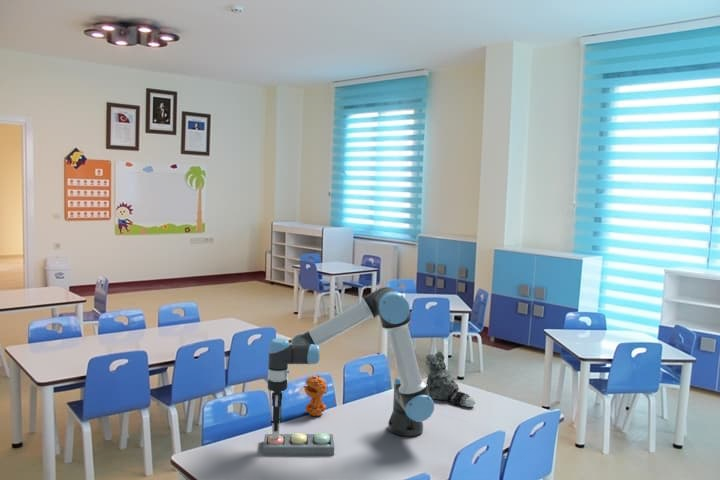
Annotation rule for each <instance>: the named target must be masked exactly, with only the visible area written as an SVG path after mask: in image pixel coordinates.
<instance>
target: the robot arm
mask: <svg viewBox="0 0 720 480" xmlns="http://www.w3.org/2000/svg"><path fill="white" fill-rule="evenodd" d="M410 311H411V306H410V302H409V301H408V299H407V297H406V296H405V295H404V294H402V293H401V292H398V291H397V290H396V289H394V288H393V287H390V286H384V287H381V288H378V289H376V290H374V291H372V292H371V293H369V294H368V295H365V296H364V297H362V298H361V301H360V302H358V303H356V304H354V305H352V306H351V307H349V308H347V309H345V310H344V311H342V312H340V313H339V314H337V315H335V316H333V317H331V318H330V319H327V320H326V321H324V322H322V323H321V324H319V325H317V326H315V327H314V328H312V329H310V330H308V331H306V332H304V333H298V334H295V335H294V336H293V338H292V340H291V344H290V341H289V340H288V339H287V338H282V337H278V338H273V339H272V340H270V341H269V347H268V367H267V390H269V391H270V392H271V400H272V403H271V406H272V420H270V424H271V428H272V429H271V434H272V439H279V434H280V422H281V421H282V418H281V414H280V413H281V412H280V411H281V406H282V400H283V392H284V391H286V390H287V389H288V374H289V373H290V370H288V369H289V365H317V364H318V363H319V362H320V355H321V354H320V352H321V351H320V346H321V345H324V344H325V343H327V342H329V341H331V340H333V339H334V338H336V337H338V336H339V335H341V334H343V333H345V332H346V331H348V330H350V329H352V328H354V327H355V326H358V325H359V324H360V323H363V322H364V321H366V320H368V319H375V318H376V317H379V320H380V323H381V327H382V329H384V330H385V331H387V335H388V339H389V344H390V346H391V351H392V355H393V359H394V363H395V366H396V370H397V375H398V376H397V377H395V379H394V382H393V383H394V384H393V399H392V400H393V403H392V412H391V415H390V417H389V420H388V423H387V424H388V425H387V429H388V430H389V431H390V432H391V433H393V434H395V435H399V436H403V437H413V436H418V435H420V434H422V433H423V432H424V423H423V422H424V421H426V420H428V419H429V418H430V417H432V415H433V413H434V411H435V403H434V400H433V398H432V397H430V396H429V392H428V388H427V386H428V385H427V384H426V382H427V381H425V380H423V379H422V377H421V372H420V369H419V365H418V360H417V355H416V353H415V348H414V344H413V340H412V337H411V336H412V335H411V332H410V328H409V324H410V323H411V317H410V316H411V315H410Z"/></svg>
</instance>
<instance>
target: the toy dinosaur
mask: <svg viewBox="0 0 720 480" xmlns="http://www.w3.org/2000/svg"><path fill="white" fill-rule="evenodd" d="M305 384H306V385H304V386H303V388H304V392H305V394H306V395H307V396H308V397H309V398H311V399H310V401H309V403H307V404H305V413H308V415H310V416H312V417H318V416H321V415H322V414H323V413H325V411H326V410H327V404H324V402H323V401H322V398H323V397H324V395H326V394H327V393H328V386H329V385H328V383H327V381H326V379H325V378H323V377H321V376H319V374H317V376H315V375H313V374H311V376H309V377H307V379H306V380H305Z"/></svg>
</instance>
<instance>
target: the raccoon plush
mask: <svg viewBox="0 0 720 480" xmlns="http://www.w3.org/2000/svg"><path fill="white" fill-rule="evenodd" d="M425 359H426V360H425V361H424V372H425V374H426V375H427V377H426V381H425V382H426V384H427V388H428V392H429V396H430V397H431V398H432V400H433V399H434V400H441V401H442V400H443V401H447V402H451V403H452V404H454V405H458V406H462V407H468V408H472V407H474V405H475V404H476V400H475V398H474V397H473V396H470V395H469V394H468V393H465V392H462V391H459V390H460V387H459V385H458V383H457V382H456V381H455V378H454V377H453V376H451V374H450V371H449V370H448V369H447V364H446V362H445V359H446V357H445V355H444V353H443V351H438V352H436V353H435V354H431V353H430V354H427V355H426V356H425Z"/></svg>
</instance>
